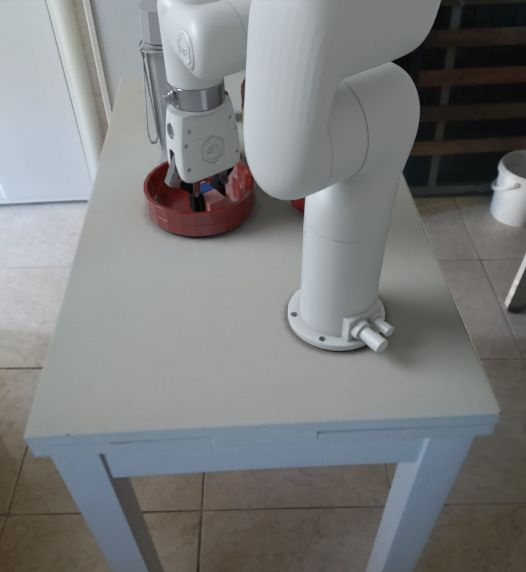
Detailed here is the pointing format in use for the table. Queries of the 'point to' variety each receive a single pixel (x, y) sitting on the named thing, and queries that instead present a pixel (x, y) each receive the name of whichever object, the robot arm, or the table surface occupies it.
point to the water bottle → (153, 71)
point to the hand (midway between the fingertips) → (208, 208)
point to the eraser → (212, 197)
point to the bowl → (182, 220)
